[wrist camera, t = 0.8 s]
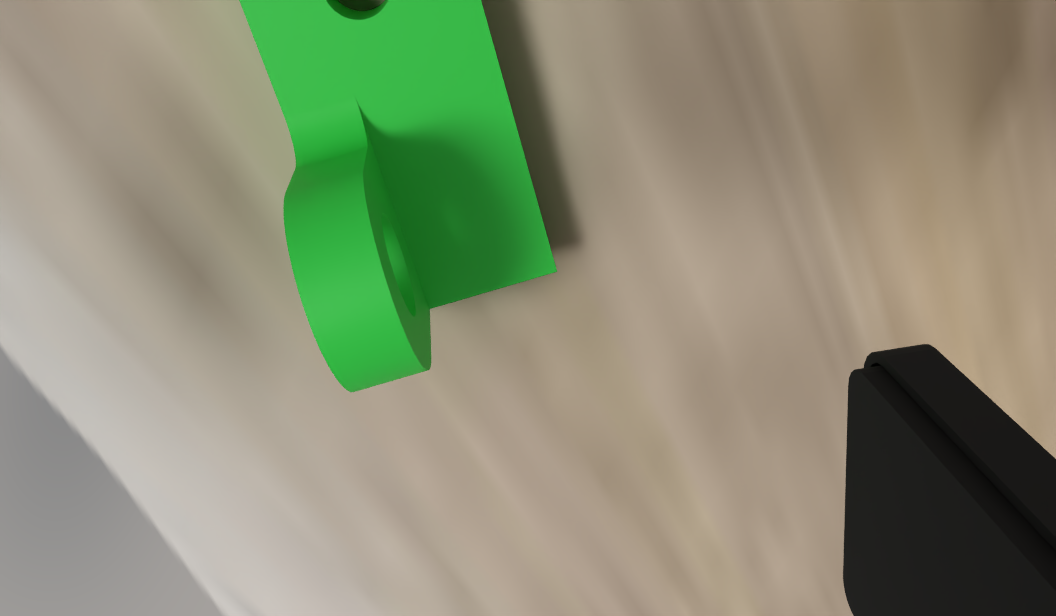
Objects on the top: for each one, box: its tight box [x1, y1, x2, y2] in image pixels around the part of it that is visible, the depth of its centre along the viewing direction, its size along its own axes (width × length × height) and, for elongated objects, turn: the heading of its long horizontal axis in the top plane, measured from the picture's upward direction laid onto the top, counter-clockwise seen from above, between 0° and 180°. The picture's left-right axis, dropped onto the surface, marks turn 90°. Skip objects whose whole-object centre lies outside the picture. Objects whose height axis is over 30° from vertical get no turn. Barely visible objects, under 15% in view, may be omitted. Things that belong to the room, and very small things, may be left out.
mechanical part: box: [239, 0, 557, 392], centre depth 24 cm, size 12×6×8 cm, turn 15°
